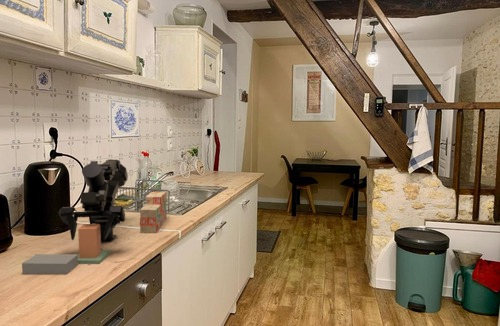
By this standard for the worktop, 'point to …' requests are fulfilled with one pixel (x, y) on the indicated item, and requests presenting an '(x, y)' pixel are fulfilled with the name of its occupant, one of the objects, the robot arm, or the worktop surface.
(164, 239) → the worktop surface
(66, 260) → the slate block
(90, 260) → the green mat
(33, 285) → the worktop surface
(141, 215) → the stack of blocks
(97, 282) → the worktop surface
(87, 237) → the terracotta block
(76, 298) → the worktop surface
